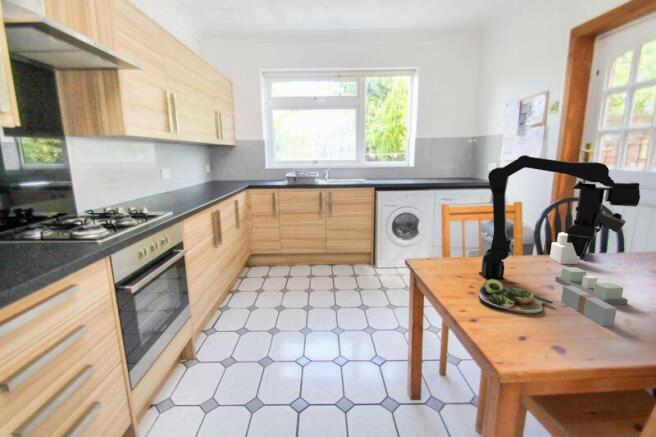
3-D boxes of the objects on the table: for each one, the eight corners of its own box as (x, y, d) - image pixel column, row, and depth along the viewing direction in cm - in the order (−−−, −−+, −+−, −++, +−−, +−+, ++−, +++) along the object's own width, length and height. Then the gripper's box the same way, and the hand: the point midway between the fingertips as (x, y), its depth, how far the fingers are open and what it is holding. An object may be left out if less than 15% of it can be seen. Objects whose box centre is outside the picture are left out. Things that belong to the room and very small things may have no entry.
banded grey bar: (602, 326, 80) (605, 308, 79) (561, 301, 94) (563, 285, 93) (613, 325, 80) (616, 308, 79) (570, 300, 94) (573, 285, 93)
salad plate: (548, 296, 98) (550, 283, 97) (556, 323, 83) (558, 307, 82) (481, 285, 107) (482, 272, 106) (476, 307, 92) (478, 292, 91)
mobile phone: (576, 241, 140) (580, 248, 127) (584, 242, 138) (589, 250, 126) (574, 251, 141) (578, 260, 128) (583, 252, 139) (587, 261, 127)
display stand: (600, 304, 91) (603, 289, 90) (555, 280, 109) (557, 267, 108) (626, 304, 91) (629, 288, 90) (577, 280, 109) (579, 266, 108)
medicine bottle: (567, 258, 131) (571, 231, 129) (578, 264, 124) (583, 235, 122) (549, 258, 132) (553, 231, 129) (559, 264, 125) (564, 235, 122)
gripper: (622, 211, 82) (612, 266, 85) (628, 203, 95) (619, 251, 98) (570, 206, 90) (563, 257, 93) (582, 199, 103) (575, 244, 106)
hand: (581, 252), depth 97 cm, fingers open, 9 cm apart
